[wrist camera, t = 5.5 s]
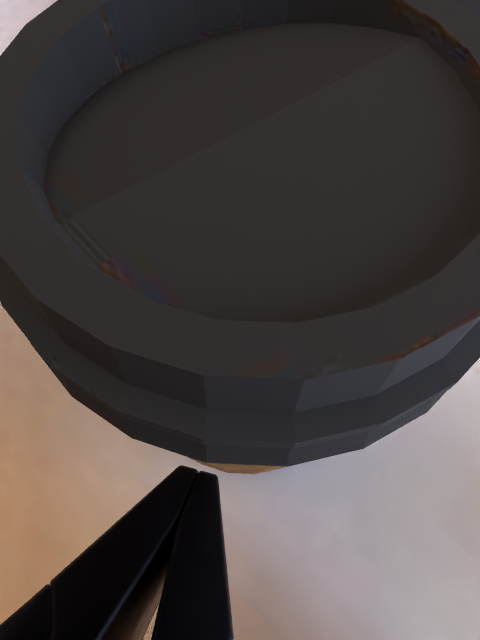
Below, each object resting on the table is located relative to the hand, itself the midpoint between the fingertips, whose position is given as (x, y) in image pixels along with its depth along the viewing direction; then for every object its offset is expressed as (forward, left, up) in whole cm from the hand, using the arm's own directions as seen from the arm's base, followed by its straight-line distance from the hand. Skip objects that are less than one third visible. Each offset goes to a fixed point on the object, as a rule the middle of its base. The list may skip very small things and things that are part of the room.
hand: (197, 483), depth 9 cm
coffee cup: (+2, +2, -10) cm, 10 cm away
